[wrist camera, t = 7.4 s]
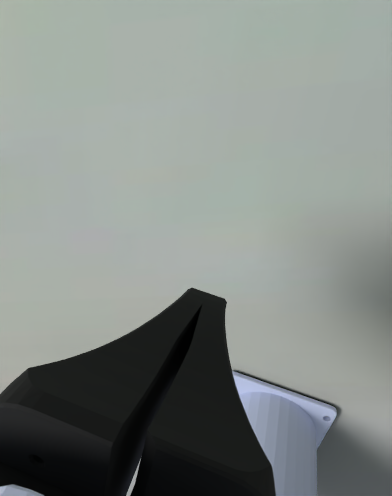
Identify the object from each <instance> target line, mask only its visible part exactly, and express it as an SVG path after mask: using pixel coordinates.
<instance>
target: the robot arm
mask: <svg viewBox="0 0 392 496" xmlns="http://www.w3.org/2000/svg"><path fill="white" fill-rule="evenodd" d="M226 304H227V302H226V300H225V299H224V298H221V297H218V296H215V295H212V294H209V293H206V292H203V291H200V290H197V289H194V288H190V289H188V290H187V291H186V292H185V293H184V294H183V295H182V296H181V297H180V298H179V299H177V300H176V301H175V302H174V303H173V304H171V305H170V306H169V307H168V308H166V309H165V310H164V311H162V312H161V313H160V314H158V315H157V316H156V317H154V318H153V319H151V320H149V321H148V322H146V323H145V324H143V325H142V326H140V327H139V328H137V329H135V330H133V331H132V332H130V333H128V334H126V335H124V336H122V337H121V338H119V339H117V340H114V341H112V342H110V343H108V344H106V345H103V346H101V347H99V348H96V349H94V350H91V351H89V352H86V353H83V354H80V355H77V356H74V357H71V358H68V359H65V360H61V361H57V362H53V363H49V364H45V365H40V366H36V367H31V368H28V369H27V370H26V371H25V372H23V373H22V374H21V375H20V376H19V377H18V378H16V379H15V380H14V381H13V382H12V383H11V384H10V385H9V386H8V387H7V388H6V389H5V390H4V391H3V392H2V393H1V394H0V496H126V494H127V491H128V489H129V486H130V484H131V481H132V479H133V476H134V473H135V471H136V468H137V466H138V463H139V461H140V458H141V461H140V465H139V470H138V474H137V478H136V482H135V486H134V488H133V490H132V493H131V495H130V496H317V449H318V447H319V445H320V444H321V442H322V440H323V438H324V437H325V435H326V433H327V432H328V430H329V428H330V426H331V425H332V423H333V421H334V420H335V418H336V416H337V411H336V408H335V407H333V406H331V405H328V404H325V403H323V402H320V401H317V400H314V399H311V398H308V397H306V396H303V395H300V394H297V393H294V392H291V391H288V390H286V389H283V388H280V387H277V386H274V385H271V384H269V383H266V382H263V381H260V380H257V379H254V378H251V377H249V376H246V375H243V374H240V373H237V372H234V371H232V369H231V365H230V360H229V354H228V348H227V341H226V331H225V309H226ZM325 416H328V417H325ZM141 456H142V457H141Z"/></svg>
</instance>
